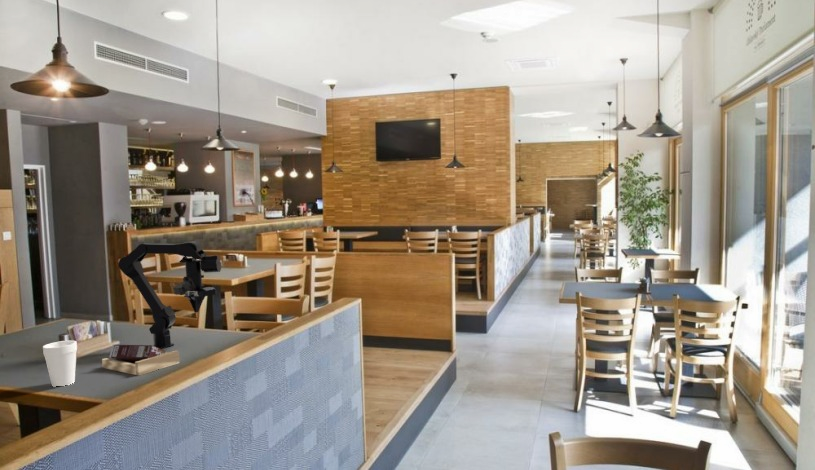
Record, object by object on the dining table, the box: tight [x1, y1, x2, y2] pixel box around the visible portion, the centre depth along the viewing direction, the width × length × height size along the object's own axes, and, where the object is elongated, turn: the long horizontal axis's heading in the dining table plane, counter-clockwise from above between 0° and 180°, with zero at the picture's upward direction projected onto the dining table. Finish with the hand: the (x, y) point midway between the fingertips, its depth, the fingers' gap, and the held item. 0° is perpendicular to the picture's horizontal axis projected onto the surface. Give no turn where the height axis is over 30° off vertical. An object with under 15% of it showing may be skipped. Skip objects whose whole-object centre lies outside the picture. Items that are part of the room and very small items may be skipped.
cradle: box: [101, 350, 180, 376], centre depth 202 cm, size 22×16×4 cm
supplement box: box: [108, 344, 167, 363], centre depth 201 cm, size 9×5×16 cm
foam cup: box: [42, 340, 78, 388], centre depth 184 cm, size 10×9×13 cm
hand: (196, 312), depth 228 cm, fingers closed
